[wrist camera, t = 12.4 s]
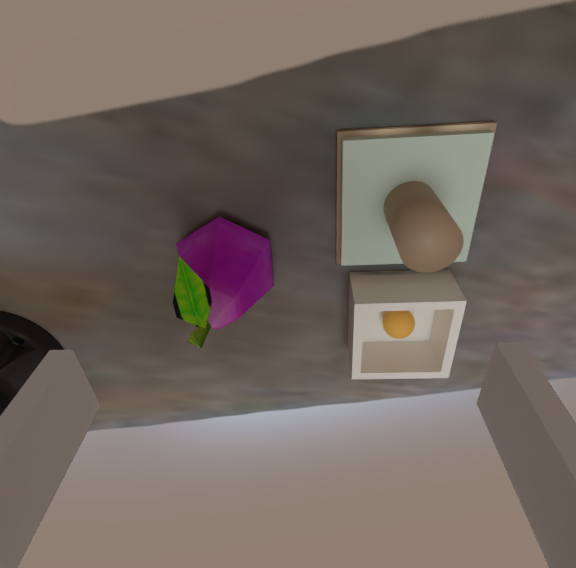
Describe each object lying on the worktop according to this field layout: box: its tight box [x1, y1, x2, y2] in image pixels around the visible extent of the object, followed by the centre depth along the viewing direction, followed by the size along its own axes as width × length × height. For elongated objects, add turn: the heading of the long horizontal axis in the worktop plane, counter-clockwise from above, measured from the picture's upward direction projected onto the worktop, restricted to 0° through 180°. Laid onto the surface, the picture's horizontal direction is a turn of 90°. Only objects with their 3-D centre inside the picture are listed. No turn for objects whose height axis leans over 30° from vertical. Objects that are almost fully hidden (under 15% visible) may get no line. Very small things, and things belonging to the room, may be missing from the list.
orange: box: [382, 310, 415, 339], centre depth 46 cm, size 4×4×4 cm
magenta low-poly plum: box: [173, 217, 274, 348], centre depth 39 cm, size 11×11×15 cm
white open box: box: [347, 269, 467, 379], centre depth 45 cm, size 11×11×6 cm
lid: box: [341, 129, 494, 273], centre depth 36 cm, size 13×13×9 cm
